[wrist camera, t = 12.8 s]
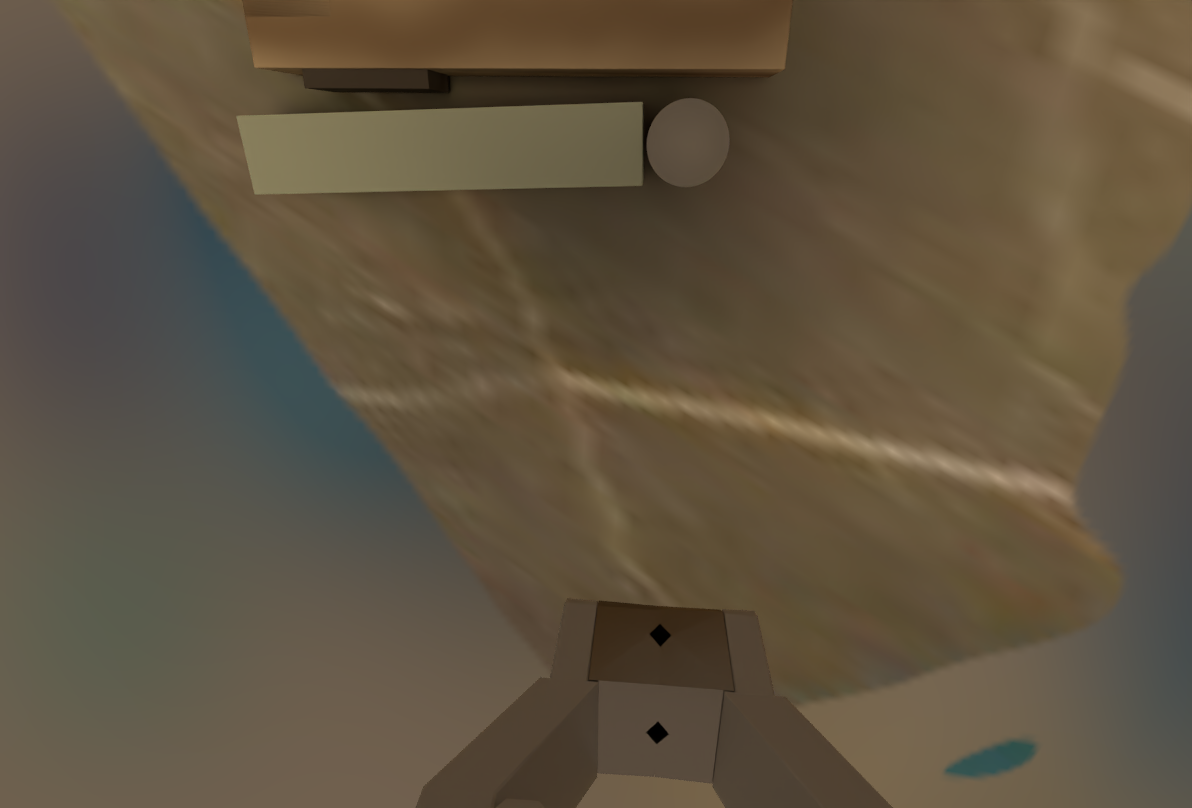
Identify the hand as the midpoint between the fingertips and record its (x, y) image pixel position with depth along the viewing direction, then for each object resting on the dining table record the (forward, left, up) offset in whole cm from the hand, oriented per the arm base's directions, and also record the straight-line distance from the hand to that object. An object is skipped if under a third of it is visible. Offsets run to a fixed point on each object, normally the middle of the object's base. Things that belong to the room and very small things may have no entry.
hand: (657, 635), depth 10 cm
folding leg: (-7, -9, -27) cm, 29 cm away
